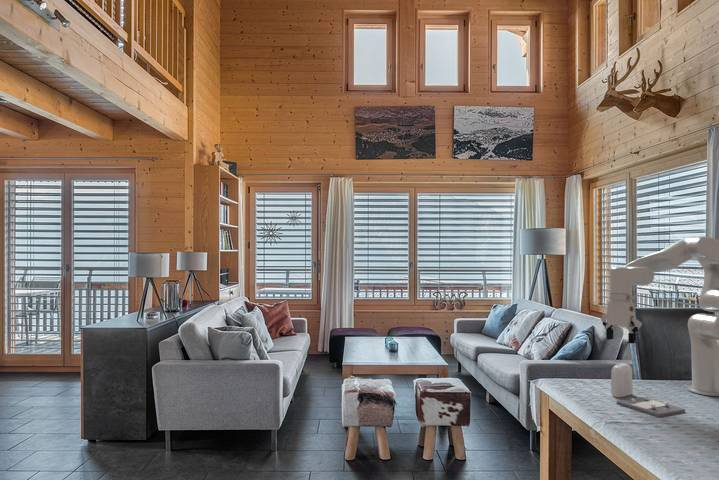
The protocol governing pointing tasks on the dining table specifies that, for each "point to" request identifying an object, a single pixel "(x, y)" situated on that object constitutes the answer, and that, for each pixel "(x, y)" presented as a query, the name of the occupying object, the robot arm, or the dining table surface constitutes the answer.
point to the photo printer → (621, 380)
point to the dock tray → (651, 406)
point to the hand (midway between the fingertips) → (620, 341)
